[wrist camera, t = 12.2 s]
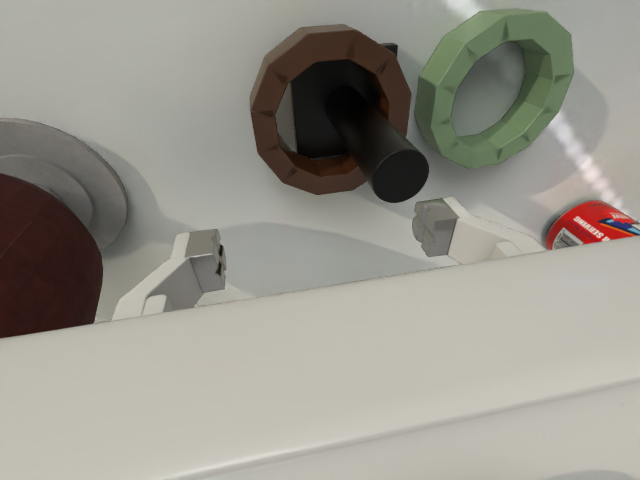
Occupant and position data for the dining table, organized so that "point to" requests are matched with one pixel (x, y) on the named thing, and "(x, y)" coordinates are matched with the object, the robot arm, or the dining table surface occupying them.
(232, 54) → the dining table surface
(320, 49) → the walnut ring
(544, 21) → the green ring
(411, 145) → the rack post
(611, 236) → the soda can
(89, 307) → the mate gourd
